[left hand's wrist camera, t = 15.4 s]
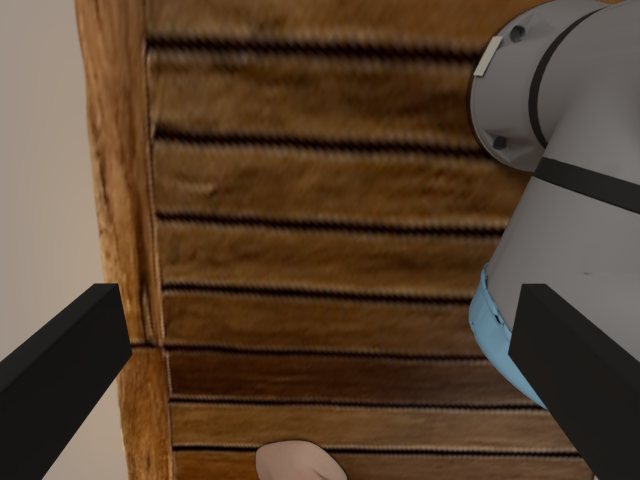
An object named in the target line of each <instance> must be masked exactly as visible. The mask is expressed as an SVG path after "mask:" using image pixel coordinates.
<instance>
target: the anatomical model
mask: <svg viewBox="0 0 640 480" xmlns="http://www.w3.org/2000/svg"><path fill="white" fill-rule="evenodd" d="M256 468H257V472H258V476H259V478H260V480H347V477H346V474H345V473H344V471H343V470H342V468H341V467H340V466H339V465H338V463H337V462H336V461H335V460H334V459H333V458H332V457H331V456H330V455H329V454H328V453H326V452H325V451H324V450H323V449H321V448H320V447H319V446H317V445H315V444H313V443H310V442H307V441H299V440H292V441H282V442H276V443H271V444H268V445H264V446H262V447H260V448H259V449H258V450H257V452H256Z"/></svg>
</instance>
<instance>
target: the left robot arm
mask: <svg viewBox="0 0 640 480" xmlns="http://www.w3.org/2000/svg"><path fill="white" fill-rule="evenodd" d="M466 106H467V116H468V121H469V124H470V127H471V130H472V133H473V135H474V137H475V139H476V140H477V142H478V143H479V145H480V146H481V147H482V149H483V150H484V151H485V152H486V153H487V154H488V155H490V156H491V157H492V158H494V159H495V160H497V161H498V162H500V163H502V164H505V165H507V166H510V167H512V168H515V169H519V170H522V171H529V172H534V174H533V176H532V177H531V179H530V181H529V183H528V185H527V187H526V189H525V191H524V193H523V195H522V197H521V199H520V201H519V203H518V205H517V207H516V209H515V211H514V213H513V215H512V217H511V219H510V221H509V223H508V225H507V227H506V229H505V231H504V233H503V235H502V237H501V239H500V241H499V243H498V245H497V248H496V250H495V252H494V253H493V255H492V257H491V259H490V261H489V262H487V263H486V264H485V266H484V268H483V270H482V273H481V280H480V283H479V285H478V288H477V290H476V292H475V295H474V297H473V299H472V302H471V304H470V308H469V323H470V326H471V329H472V331H473V333H474V337H475V340H476V342H477V344H478V345H479V347H480V349H481V350H482V352H483V353H484V354H485V356H486V357H487V358H488V360H489V361H490V362H491V363H492V364H493V366H494V367H495V368H496V369H497V370H498V371H499V372H500V373H501V374H502V375H503V376H504V377H505V378H506V379H507V380H508V381H509V382H510V383H512V384H513V385H514V386H515V387H516V388H517V389H518V390H520V391H521V392H522V393H523V394H525V395H526V396H527V397H529V398H530V399H531V400H533V401H534V402H536V403H537V404H539V405H540V406H542V407H543V408H545V409H547V410H548V411H549V412H550V413H551V415H552V416H553V418H554V419H555V420H556V422H557V423H558V425H559V426H560V427H561V429H562V430H563V431H564V433H565V434H566V436H567V437H568V438H569V440H570V441H571V442H572V444H573V445H574V447H575V448H576V449H577V451H578V452H579V454H580V455H581V456H582V458H583V459H584V460H585V462H586V463H587V465H588V466H589V467H590V469H591V470H592V471H593V473H594V474H595V476H596V477H597V478H598V480H640V0H626V1H623V2H620V3H617V4H614V5H611V4H607V3H603V2H599V1H595V0H553V1H549V2H546V3H543V4H540V5H538V6H535V7H533V8H530V9H528V10H526V11H524V12H522V13H520V14H519V15H517V16H515V17H514V18H512V19H511V20H510V21H508V22H507V23H506V24H504V25H503V26H502V27H501V28H500V29H499V30H498V31H497V32H496V33H495V34H494V35H493V36H492V37H491V39H490V40H489V41H488V42H487V44H486V45H485V47H484V48H483V50H482V51H481V53H480V55H479V56H478V58H477V60H476V63H475V65H474V67H473V70H472V73H471V76H470V79H469V83H468V89H467V99H466ZM131 356H132V350H131V345H130V340H129V335H128V330H127V325H126V320H125V315H124V310H123V305H122V300H121V296H120V291H119V286H118V284H93V285H92V286H91V287H90V288H89V289H87V290H86V291H85V292H84V293H83V294H81V295H80V296H79V297H78V298H77V299H75V300H74V301H73V302H72V303H71V304H69V305H68V306H67V307H66V308H65V309H63V310H62V311H61V312H60V313H59V314H57V315H56V316H55V317H54V318H53V319H51V320H50V321H49V322H48V323H47V324H45V325H44V326H43V327H42V328H41V329H39V330H38V331H37V332H36V333H35V334H33V335H32V336H31V337H30V338H29V339H27V340H26V341H25V342H24V343H23V344H21V345H20V346H19V347H18V348H17V349H15V350H14V351H13V352H12V353H11V354H9V355H8V356H7V357H6V358H5V359H3V360H2V361H1V362H0V480H42V478H43V477H44V476H45V474H46V473H47V471H48V470H49V469H50V467H51V466H52V465H53V463H54V462H55V460H56V459H57V458H58V456H59V455H60V454H61V452H62V451H63V449H64V448H65V447H66V445H67V444H68V442H69V441H70V440H71V438H72V437H73V436H74V434H75V433H76V431H77V430H78V429H79V427H80V426H81V425H82V423H83V422H84V420H85V419H86V418H87V416H88V415H89V413H90V412H91V411H92V409H93V408H94V407H95V405H96V404H97V402H98V401H99V400H100V398H101V397H102V396H103V394H104V393H105V391H106V390H107V389H108V387H109V386H110V384H111V383H112V382H113V380H114V379H115V378H116V376H117V375H118V373H119V372H120V371H121V369H122V368H123V367H124V365H125V364H126V362H127V361H128V360H129V358H130V357H131Z"/></svg>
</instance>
